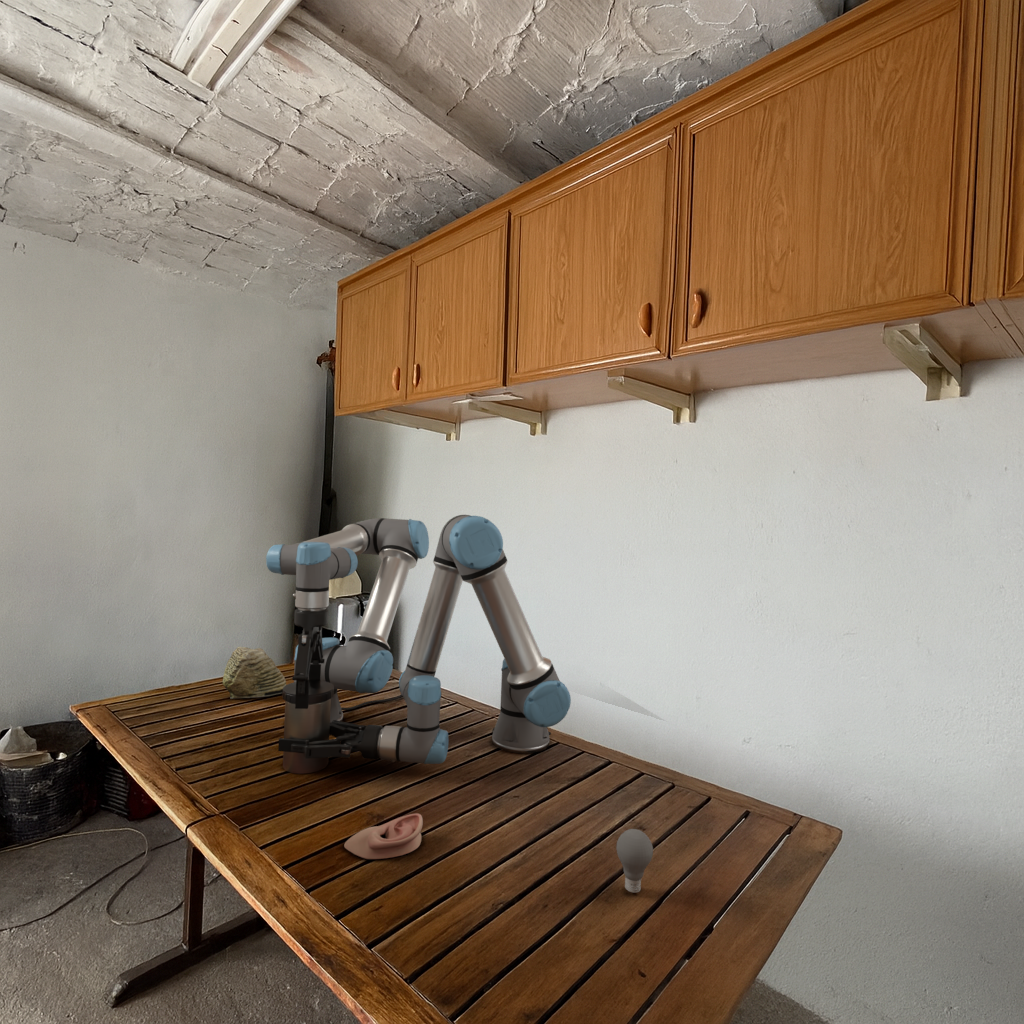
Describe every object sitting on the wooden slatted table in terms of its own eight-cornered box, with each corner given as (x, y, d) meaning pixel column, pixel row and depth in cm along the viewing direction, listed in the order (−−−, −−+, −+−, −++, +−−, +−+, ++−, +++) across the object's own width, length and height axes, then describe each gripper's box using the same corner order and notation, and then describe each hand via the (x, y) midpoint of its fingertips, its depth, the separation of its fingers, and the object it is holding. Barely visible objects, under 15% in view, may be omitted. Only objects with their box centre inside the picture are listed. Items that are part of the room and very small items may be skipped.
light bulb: (610, 879, 108) (613, 822, 108) (644, 879, 109) (647, 822, 109) (619, 902, 102) (622, 840, 102) (655, 901, 103) (658, 840, 103)
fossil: (218, 695, 195) (220, 647, 195) (278, 685, 208) (279, 640, 207) (228, 703, 189) (230, 653, 188) (289, 692, 201) (290, 645, 201)
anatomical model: (336, 832, 112) (364, 802, 124) (336, 854, 112) (363, 822, 124) (407, 843, 110) (429, 812, 121) (406, 866, 110) (428, 832, 121)
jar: (280, 775, 143) (283, 697, 143) (284, 756, 153) (287, 684, 153) (327, 772, 146) (330, 696, 145) (328, 754, 156) (331, 683, 155)
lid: (327, 704, 144) (328, 695, 144) (275, 703, 143) (275, 694, 143) (338, 689, 155) (339, 680, 155) (290, 688, 154) (290, 679, 154)
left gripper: (307, 599, 160) (303, 683, 161) (281, 617, 136) (277, 716, 137) (337, 600, 161) (334, 684, 162) (317, 618, 137) (313, 717, 137)
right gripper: (365, 779, 137) (266, 772, 138) (393, 740, 159) (308, 733, 161) (367, 745, 136) (267, 737, 138) (395, 710, 159) (309, 704, 161)
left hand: (308, 699), depth 149 cm, fingers open, 12 cm apart
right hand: (289, 735), depth 150 cm, fingers closed on jar, 10 cm apart
